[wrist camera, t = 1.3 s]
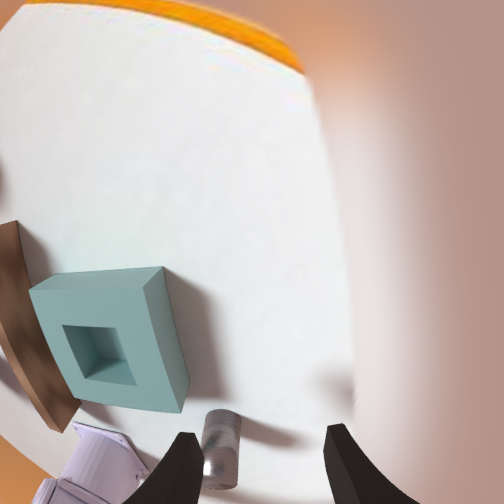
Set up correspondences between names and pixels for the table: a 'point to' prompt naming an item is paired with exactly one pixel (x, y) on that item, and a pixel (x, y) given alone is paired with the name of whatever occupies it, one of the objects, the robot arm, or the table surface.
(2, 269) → the wall
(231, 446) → the dowel
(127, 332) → the block
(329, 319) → the table surface
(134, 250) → the table surface
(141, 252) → the table surface
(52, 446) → the table surface
